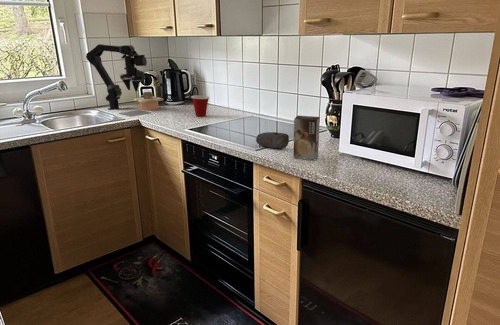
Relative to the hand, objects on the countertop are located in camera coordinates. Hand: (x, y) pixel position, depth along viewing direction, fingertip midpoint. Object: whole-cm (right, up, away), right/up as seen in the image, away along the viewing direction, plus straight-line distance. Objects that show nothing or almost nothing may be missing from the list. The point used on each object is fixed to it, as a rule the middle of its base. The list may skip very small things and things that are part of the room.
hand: (132, 90), depth 244 cm
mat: (+4, -16, -9) cm, 19 cm away
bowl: (+9, -11, +5) cm, 16 cm away
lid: (+9, -6, +4) cm, 11 cm away
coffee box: (+98, -45, -94) cm, 143 cm away
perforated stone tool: (+85, -40, -80) cm, 124 cm away
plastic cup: (+46, -19, -16) cm, 53 cm away
